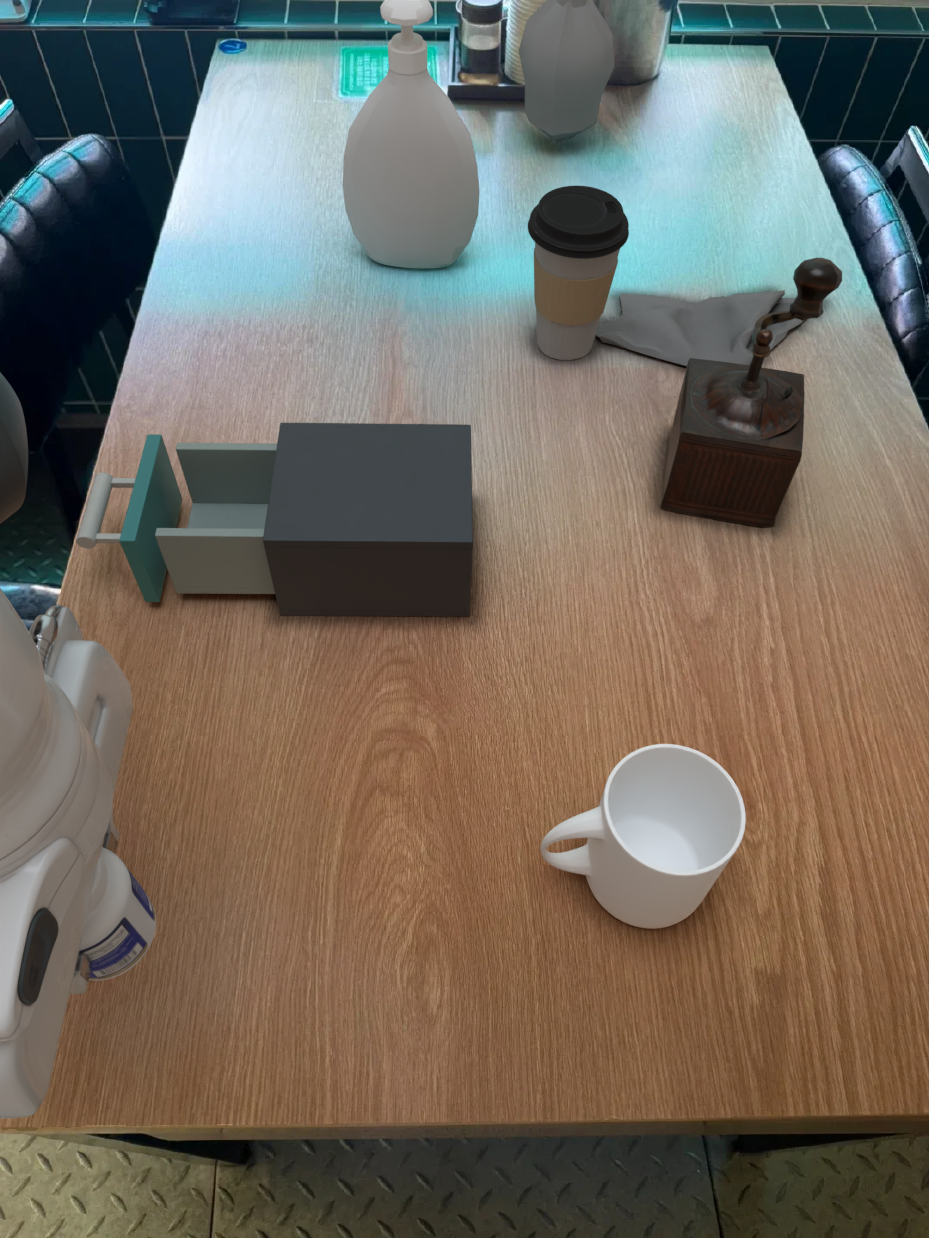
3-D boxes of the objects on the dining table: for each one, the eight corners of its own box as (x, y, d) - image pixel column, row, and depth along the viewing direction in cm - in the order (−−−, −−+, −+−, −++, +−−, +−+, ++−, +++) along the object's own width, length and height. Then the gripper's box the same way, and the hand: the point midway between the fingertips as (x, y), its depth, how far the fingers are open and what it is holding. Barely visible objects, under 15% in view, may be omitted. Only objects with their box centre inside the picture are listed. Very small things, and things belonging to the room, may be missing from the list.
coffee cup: (627, 351, 98) (653, 218, 86) (555, 384, 95) (571, 251, 83) (571, 303, 103) (588, 170, 90) (500, 333, 99) (508, 199, 87)
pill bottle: (72, 882, 53) (17, 818, 45) (167, 886, 53) (127, 823, 45) (44, 981, 50) (-20, 929, 42) (145, 985, 50) (98, 934, 42)
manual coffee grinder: (781, 532, 84) (853, 372, 70) (657, 510, 85) (702, 348, 71) (784, 415, 93) (848, 251, 78) (671, 397, 94) (715, 232, 80)
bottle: (497, 147, 121) (511, -142, 97) (543, 111, 127) (568, -171, 102) (572, 175, 118) (607, -117, 93) (617, 138, 123) (661, -148, 98)
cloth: (598, 377, 96) (602, 359, 94) (582, 293, 104) (585, 275, 102) (850, 373, 97) (858, 355, 95) (815, 291, 105) (822, 273, 103)
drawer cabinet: (280, 615, 78) (262, 540, 70) (294, 501, 85) (280, 422, 77) (469, 616, 78) (472, 542, 70) (468, 503, 85) (470, 424, 78)
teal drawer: (88, 602, 77) (57, 540, 71) (117, 498, 84) (91, 433, 77) (323, 603, 78) (312, 542, 71) (333, 500, 84) (324, 435, 78)
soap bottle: (479, 238, 109) (490, -27, 87) (474, 280, 105) (484, 12, 83) (354, 230, 110) (333, -36, 88) (344, 272, 105) (319, 2, 83)
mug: (528, 816, 68) (541, 747, 59) (692, 810, 69) (729, 740, 60) (539, 937, 63) (555, 880, 54) (716, 929, 64) (760, 872, 55)
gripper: (-20, 583, 43) (72, 729, 54) (-200, 1082, 31) (-34, 1136, 42) (122, 586, 43) (184, 731, 54) (-3, 1082, 31) (109, 1135, 42)
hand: (88, 911), depth 48 cm, fingers closed on pill bottle, 5 cm apart
